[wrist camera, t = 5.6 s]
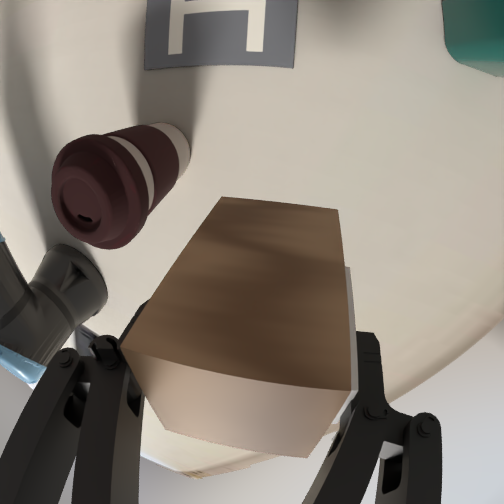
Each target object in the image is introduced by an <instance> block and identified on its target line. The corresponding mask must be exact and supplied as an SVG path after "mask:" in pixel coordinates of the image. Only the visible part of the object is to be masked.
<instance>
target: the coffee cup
mask: <svg viewBox="0 0 504 504" xmlns="http://www.w3.org/2000/svg"><path fill="white" fill-rule="evenodd" d="M189 160H190V149H189V144H188V142H187V139H186V138H185V136H184V135H183V133H182V132H181V131H180V130H179V129H177V128H176V127H174V126H172V125H170V124H167V123H154V124H149V125H138V126H133V127H129V128H125V129H121V130H118V131H114V132H110V133H107V134H103V135H98V134H92V135H86V136H83V137H80V138H78V139H76V140H73V141H72V142H70V143H68V144H67V145H66V146H64V147H63V148H62V150H61V151H60V152H59V154H58V155H57V158H56V160H55V162H54V166H53V171H52V187H51V197H52V203H53V207H54V210H55V212H56V215H57V217H58V219H59V220H60V222H61V224H62V225H63V226H64V227H65V229H66V230H67V231H68V232H69V233H70V234H71V235H73V236H74V237H75V238H77V239H79V240H81V241H83V242H86V243H88V244H90V245H92V246H94V247H98V248H101V249H108V250H110V249H117V248H121V247H123V246H125V245H126V244H128V243H129V242H130V241H131V240H132V239H133V238H134V237H135V236H136V235H137V234H138V233H139V232H140V231H141V229H142V228H143V226H144V224H145V222H146V219H147V216H148V215H149V214H150V213H151V212H152V210H153V209H154V208H155V207H156V206H157V205H158V204H159V202H160V201H161V200H162V199H163V198H164V197H165V196H166V195H167V193H168V192H169V191H170V190H171V189H172V188H173V186H174V185H175V183H176V181H177V180H178V179H179V178H180V177H181V176H182V175H183V173H184V172H185V171H186V169H187V167H188V164H189Z"/></svg>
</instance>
